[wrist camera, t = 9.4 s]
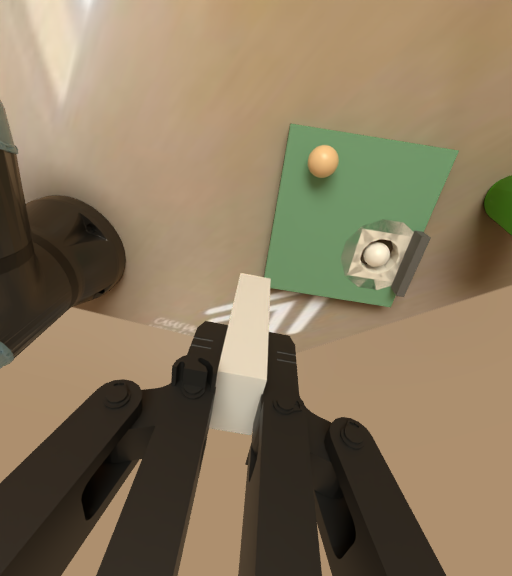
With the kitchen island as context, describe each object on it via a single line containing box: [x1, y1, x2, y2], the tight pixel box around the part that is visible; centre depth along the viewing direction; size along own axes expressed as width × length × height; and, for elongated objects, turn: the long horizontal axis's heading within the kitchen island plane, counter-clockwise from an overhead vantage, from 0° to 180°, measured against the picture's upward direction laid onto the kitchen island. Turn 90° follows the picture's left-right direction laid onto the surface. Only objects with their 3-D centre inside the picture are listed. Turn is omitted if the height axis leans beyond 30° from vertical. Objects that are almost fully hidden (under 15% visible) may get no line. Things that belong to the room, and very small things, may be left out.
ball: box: [363, 242, 390, 267], centre depth 39 cm, size 3×3×3 cm
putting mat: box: [264, 124, 459, 307], centre depth 36 cm, size 19×20×5 cm
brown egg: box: [308, 145, 339, 178], centre depth 31 cm, size 3×3×3 cm
